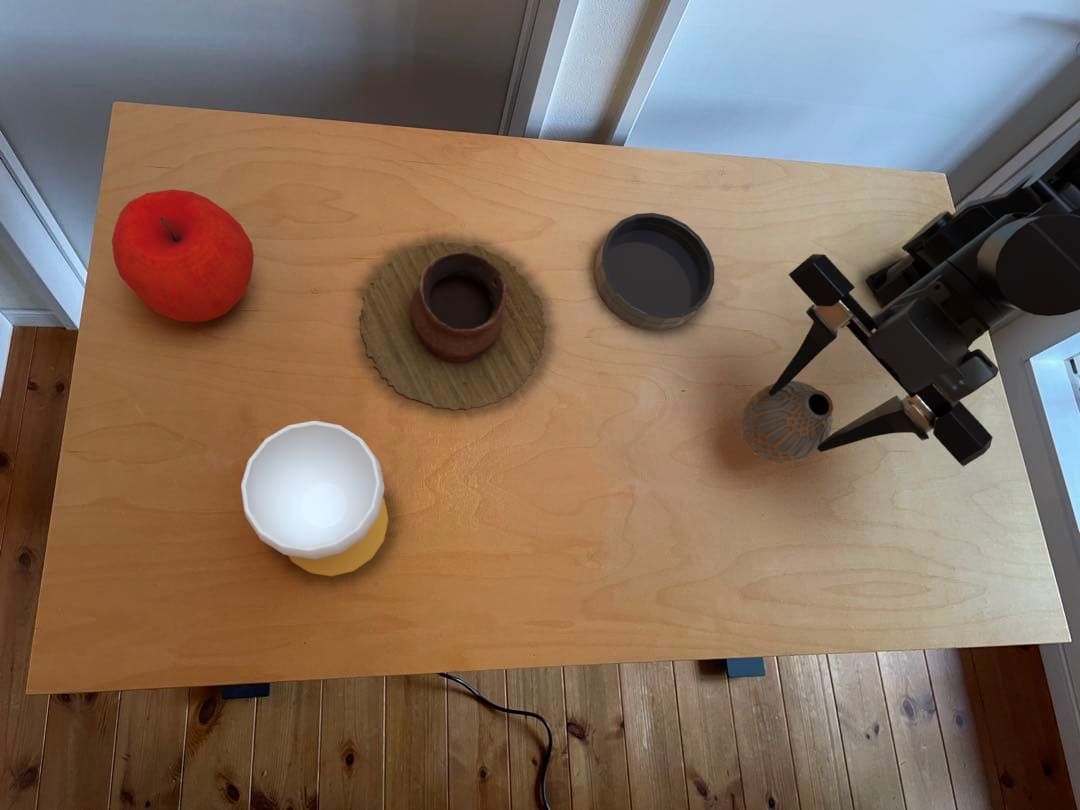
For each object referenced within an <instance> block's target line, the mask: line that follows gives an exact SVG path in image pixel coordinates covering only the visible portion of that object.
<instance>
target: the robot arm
mask: <svg viewBox="0 0 1080 810" xmlns="http://www.w3.org/2000/svg"><path fill="white" fill-rule="evenodd" d="M900 248H901V249H902V250H903V251H904V252H906V253H907V255H906V256H905V257H902V258H900V259H898V260H897V261H895V262H893V263H890V264H889V265H886V266H885V267H883V268H881V269H879V270H878V271H876V272H874V273H872V274H870V275H869V276H867V277H866V279H865V281H866V282H867V284H868V286H869V287H870V289H871V290H872V291H873V292H874V293H873V294H875V296H876V297H877V298H878V300H879V301H880V303H881V304H882V306H883V308H881V309H880V310H879V311H877V312H876V313H875V314H873V315H872V316H871V315H870V314H869V313H868V311H866V309H864V307H863V306H861V304H860V303H859V302H858V301H857V300H856V298H855V297H853V296H852V295H851V294H850V292H852V291H853V290H854V289H855V288H856V287H855V285H854V284H853V283H852V282H851V281H850V280H849V279H848V278H847V277H846V275H845V274H843V272H842V271H841V270H840V269H839V268H838V267H837V266H836V265H835V263H833V261H832V260H831V259H830V258H829V257H828V256H827V255H826V254H824V253H823V254H822V253H820V254H819V253H815V254H814V253H813V254H811V255H809V257H807V258H806V259H805V260H804V261H802V262H801V263H800V264H799V265H797V266H796V267H795V268H794V269H793V270H792V271H791V272H789V274H788V276H789V277H790V278H791V280H792V281H793V282H794V283H795V284H796V285H797V286H798V288H800V290H801V291H802V292H803V293H804V294H805V295H806V297H808V298H809V300H810V301H811V302H812V304H811V306H809V307H808V308H807V310H805V312H806V315H807V316H808V317H809V318H810V319H811V320H812V325H811V326H810V328H809V329H808V332H807V334H806V336H805V338H804V340H803V341H802V343H801V345H800V346H799V348H798V350H797V351H796V353H795V354H794V356H793V357H792V359H791V360H790V361H789V363H788V364H787V366H786V367H785V368H784V369H783V371H782V372H781V374H780V375H779V376H778V378H777V380H776V381H775V382H774V383H775V384H774V383H773V384H774V385H773V387H772V388H771V390H770V391H769V395H770V396H773V395H774V394H776V393H777V392H778V391H780V390H781V389H782V388H784V387H785V386H786V385H787V384H788V383H789V382H790V381H793V380H794V379H795V378H796V377H797V376H798V375H799V374H800V373H801V372H802V371H803V370H804V369H805V367H807V366H808V365H809V364H810V363H811V362H812V361H814V359H815V358H816V357H817V356H818V355H820V353H821V352H822V351H823V350H825V348H827V347H828V346H829V345H830V344H831V343H833V342H834V341H835V340H836V339H837V338H838V330H839V329H840V328H841V329H845V327H846V328H847V329H848V330H849V331H850V332H851V333H852V334H853V336H855V338H856V339H857V340H858V341H859V342H860V343H861V344H862V345H863V346H864V347H865V348H866V350H867V351H869V353H870V354H871V356H873V358H874V359H876V361H878V363H879V364H880V365H881V366H882V367H883V369H885V371H886V372H887V373H888V374H889V375H890V376H891V377H892V378H893V380H895V382H897V384H898V385H899V386H900V387H901V388H902V389H903V390H904V391H905V392H906V395H905V397H904V398H902V399H901V398H900V397H899V396H898V394H896V395H894V396H893V397H890V398H889V399H888V400H886V401H884V402H882V403H881V404H879V405H878V406H875V408H872V409H871V410H869V411H868V412H866V413H864V414H862V415H861V416H860V417H859V416H858V418H856V419H854V420H852V421H851V422H849V423H848V424H846V425H844V426H843V427H842V428H840V429H838V430H837V431H834V432H833V433H831V434H829V436H828V438H827V439H825V440H824V441H823V442H822V443H820V444H819V445H818V446H817V449H818V450H817V451H818V452H819V453H822V452H826V451H829V450H830V451H831V450H833V449H836V448H839V447H843V446H847V445H850V444H853V443H856V442H860V441H863V440H867V439H870V438H874V437H875V438H876V437H879V436H880V437H881V436H885V435H890V434H903V433H904V434H910V433H911V434H914V435H916V437H917V438H918V439H919V440H920V441H926V440H929V439H930V437H929V435H928V433H930V432H931V431H932V434H933V436H934V437H935V438H936V440H938V441H939V443H940V444H941V445H942V446H943V447H944V448H945V449H946V450H947V451H948V453H949V454H950V455H951V456H952V457H953V458H954V459H955V460H956V461H957V462H958V464H959V465H960V466H962V467H966V466H967V465H969V464H970V463H972V462H973V461H975V460H976V459H979V457H981V456H984V455H985V453H986V452H987V451H988V450H990V448H991V446H992V441H993V438H994V437H993V436H992V434H991V433H990V432H989V431H988V430H987V429H986V427H985V426H984V425H983V424H982V423H981V422H980V421H979V420H978V418H977V417H976V416H975V415H974V414H973V413H972V412H971V411H970V410H969V408H967V406H965V404H964V403H963V402H962V401H961V400H962V399H964V398H966V397H967V396H969V395H971V394H973V393H974V392H976V391H977V390H979V389H980V388H982V387H983V386H985V385H986V384H988V383H989V382H990V381H992V380H993V379H994V378H996V377H997V376H998V374H999V370H1000V369H999V367H998V366H997V365H996V364H995V363H994V362H993V360H992V359H990V358H989V356H987V355H986V353H985V352H984V351H983V350H981V349H980V348H976V349H974V350H970V349H969V348H970V347H971V346H972V344H973V343H974V342H975V341H976V340H977V339H979V338H981V337H982V336H983V335H984V334H985V333H987V332H988V331H989V330H991V329H992V328H994V327H995V326H996V325H998V324H999V323H1000V322H1002V321H1003V320H1004V319H1006V318H1008V317H1009V316H1010V315H1012V314H1013V313H1015V312H1016V311H1018V310H1019V311H1022V312H1024V313H1028V314H1030V315H1031V314H1032V315H1034V316H1044V317H1054V316H1062V315H1064V316H1065V315H1067V314H1070V313H1073V312H1077V311H1079V310H1080V133H1079V134H1077V135H1076V136H1074V137H1073V138H1072V139H1071V140H1070V141H1068V142H1067V143H1065V144H1064V145H1063V146H1062V147H1060V148H1059V149H1058V150H1057V151H1055V152H1054V153H1053V154H1052V155H1051V156H1049V158H1048V159H1046V160H1045V161H1044V162H1043V163H1041V164H1040V165H1039V166H1037V167H1036V168H1035V169H1033V170H1032V171H1031V172H1030V173H1028V175H1025V176H1024V178H1022V179H1021V180H1020V181H1019V182H1017V183H1016V184H1015V185H1013V186H1012V187H1011V188H1009V189H1008V190H1007V191H1005V192H1003V193H998V194H994V195H990V196H987V197H981V198H978V199H973V200H969V201H968V202H966V203H964V205H963V206H961V207H960V208H959V209H958V210H956V211H955V212H953V213H951V212H950V211H949V210H946V211H943V212H940V213H939V214H937V215H936V216H934V217H933V218H932V219H931V220H930V221H928V222H927V223H925V225H923V227H921V228H920V229H919V230H918V231H916V233H915V234H914V235H913V236H912V237H911V238H910V239H908V241H907V242H905V243H904V245H902V246H901V247H900ZM873 330H874V331H873Z"/></svg>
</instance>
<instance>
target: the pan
mask: <svg viewBox="0 0 1080 810" xmlns="http://www.w3.org/2000/svg"><path fill="white" fill-rule="evenodd" d="M594 281H595V285H596V288H597V291H598V293H599V295H600V297H601V299H602V300H603V302H604V303H605V304H606V306H607V307H608V309H610V311H612V313H614V314H615V315H616V316H617V317H618V318H619V319H621V320H623V321H624V322H626V323H628V324H630V325H632V326H635V327H636V328H640V329H643V330H650V331H664V330H669V329H673V328H676V327H679V326H680V325H682V324H684V323H686V322H687V321H689V320H690V319H691V318H692V316H693V315H694V314H695V313H696V312H698V310H699V309H700V308H701V307H702V306H703V305H704V304H705V303H706V301H707V300H708V299H710V298H709V297H710V295H711V293H712V290H713V288H714V284H715V265H714V260H713V258H712V256H711V252H710V250H709V248H708V247H707V245H706V244H705V242H704V240H703V239H702V238H701V236H700V235H699V234H697V233H696V232H695V231H694V230H693V229H692V228H691V227H690V226H689V225H688V224H686V223H684V222H682V221H680V220H678V219H676V218H674V217H672V216H670V215H666V214H661V213H656V212H646V213H644V212H643V213H635V214H633V215H630V216H628V217H625V218H623V219H621V220H620V221H618V223H616V224H615V225H614V226H613V227H612V228H611V229H610V230H609V232H608V233H607V235H606V237H605V239H604V241H603V243H602V245H601V247H600V249H599V251H598V252H597V254H596V258H595V263H594Z"/></svg>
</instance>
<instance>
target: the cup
mask: <svg viewBox="0 0 1080 810" xmlns="http://www.w3.org/2000/svg"><path fill="white" fill-rule="evenodd" d="M240 488H241V489H240V490H241V496H242V497H241V498H242V503H243V511H244V515H245V518H246V520H247V521H248V523H249V524H250V526H251V527H252V529H253V530H254V532H255V534H256V535H257V537H258V538H259V540H260V541H262V542H263V543H264V544H266V545H268V546H269V547H271V548H273V549H274V550H276V551H277V552H279V553H281V554H282V555H284V556H287V557H288V558H289V560H290V561H291V562H292V563H293V564H295V565H297V566H298V567H300V568H301V569H302V570H304V571H307V572H308V573H309V574H314V575H321V576H327V577H335V576H339V575H344V574H348V573H352V572H355V571H357V570H358V569H359V568H360V567H362V566H364V565H365V564H366V563H368V562H369V561H372V559H373V558H374V556H375V555H376V553H377V552H378V550H379V549H380V547H381V546H382V545H383V543H384V541H385V539H386V533H387V528H388V526H389V525H388V524H389V515H388V510H387V505H386V501H385V500H386V499H385V498H384V495H385V494H384V493H385V489H386V487H385V482H384V477H383V472H382V467H381V463H380V461H379V460H378V458H377V457H376V455H375V454H374V453H373V451H372V450H371V448H370V447H369V446H368V444H367V442H365V441H364V439H363V438H362V437H360V436H358V435H357V434H355V433H354V432H352V431H350V430H348V429H347V428H345V427H344V426H342V425H340V424H335V423H330V422H324V421H319V420H310V421H304V422H300V423H294V424H288V425H286V426H285V427H283V428H281V429H280V430H278V431H276V432H274V433H273V434H271V435H269V436H267V437H265V439H264V440H262V442H261V443H260V445H259V446H258V447H257V449H256V450H255V451H254V452H253V454H251V456H250V457H249V458H248V460H247V463H246V466H245V470H244V473H243V477H242V480H241V483H240Z"/></svg>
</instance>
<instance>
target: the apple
mask: <svg viewBox="0 0 1080 810" xmlns="http://www.w3.org/2000/svg"><path fill="white" fill-rule="evenodd" d="M112 234H113V235H112V238H111V247H112V255H113V261H114V264H115V267H116V270H117V272H118V274H119V277H120V278H121V279H122V280H123V281H124V282H125V284H127V286H128V287H129V288H130V289H131V290H132V291H133V292H134V293H135V295H136V296H137V297H138V298H139V299H140V300H141V301H142V302H143V303H144V304H146V305H147V306H148V307H150V308H151V309H153V310H154V311H156V312H157V313H158V314H161V315H163V316H166V317H169V318H170V319H174V320H176V321H181V322H189V323H199V322H205V321H206V322H207V321H210V320H213V319H216V318H219V317H221V316H223V315H225V314H227V313H228V312H229V311H230V310H231V309H233V308H234V306H235V305H237V303H238V302H239V301H240V300H241V299H242V297H243V295H244V293H245V292H246V289H247V287H248V285H249V283H250V280H251V279H252V273H253V267H254V249H253V247H254V246H253V243H252V241H251V239H250V238H249V236H248V234H247V233H246V231H245V230H244V227H243V226H242V224H241V223H240V222H239V221H238V220H236V219H235V218H234V216H232V214H230V212H228V211H227V210H226V209H224V208H222V207H221V206H219V205H218V204H217V203H216V202H214V201H212V200H211V199H209V198H208V197H206V196H204V195H201V194H199V193H196V192H193V191H188V190H180V189H166V190H159V191H153V192H152V191H151V192H146V193H144V194H142V195H140V196H138V197H136V198H134V199H132V200H130V201H129V202H127V204H125V206H124V207H123V208H122V209H121V210H120V212H119V215H118V217H117V220H116V223H115V225H114V228H113V233H112Z"/></svg>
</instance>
